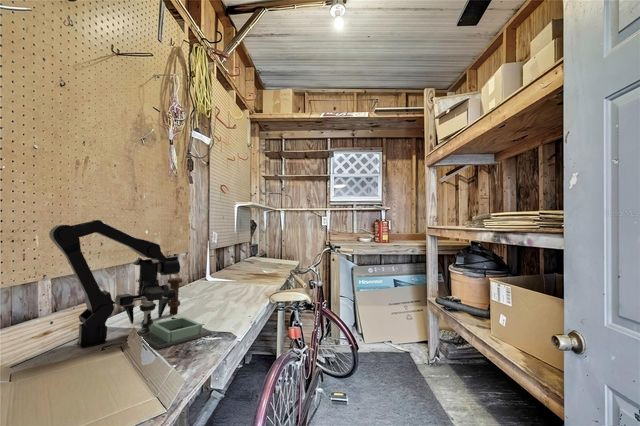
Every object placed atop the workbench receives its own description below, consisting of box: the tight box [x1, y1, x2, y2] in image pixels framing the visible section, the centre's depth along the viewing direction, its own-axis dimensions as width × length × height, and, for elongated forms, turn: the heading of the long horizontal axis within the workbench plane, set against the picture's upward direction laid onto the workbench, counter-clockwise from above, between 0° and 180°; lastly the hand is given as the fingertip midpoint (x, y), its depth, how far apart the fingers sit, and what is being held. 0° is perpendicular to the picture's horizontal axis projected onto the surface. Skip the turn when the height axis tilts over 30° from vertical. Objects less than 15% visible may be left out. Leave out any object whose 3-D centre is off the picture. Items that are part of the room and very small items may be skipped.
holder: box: [150, 316, 203, 343], centre depth 104 cm, size 11×13×3 cm
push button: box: [138, 300, 157, 334], centre depth 109 cm, size 7×5×10 cm
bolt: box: [167, 277, 183, 316], centre depth 130 cm, size 6×5×15 cm
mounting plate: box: [139, 326, 212, 350], centre depth 104 cm, size 18×14×1 cm
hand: (146, 320), depth 109 cm, fingers open, 9 cm apart
